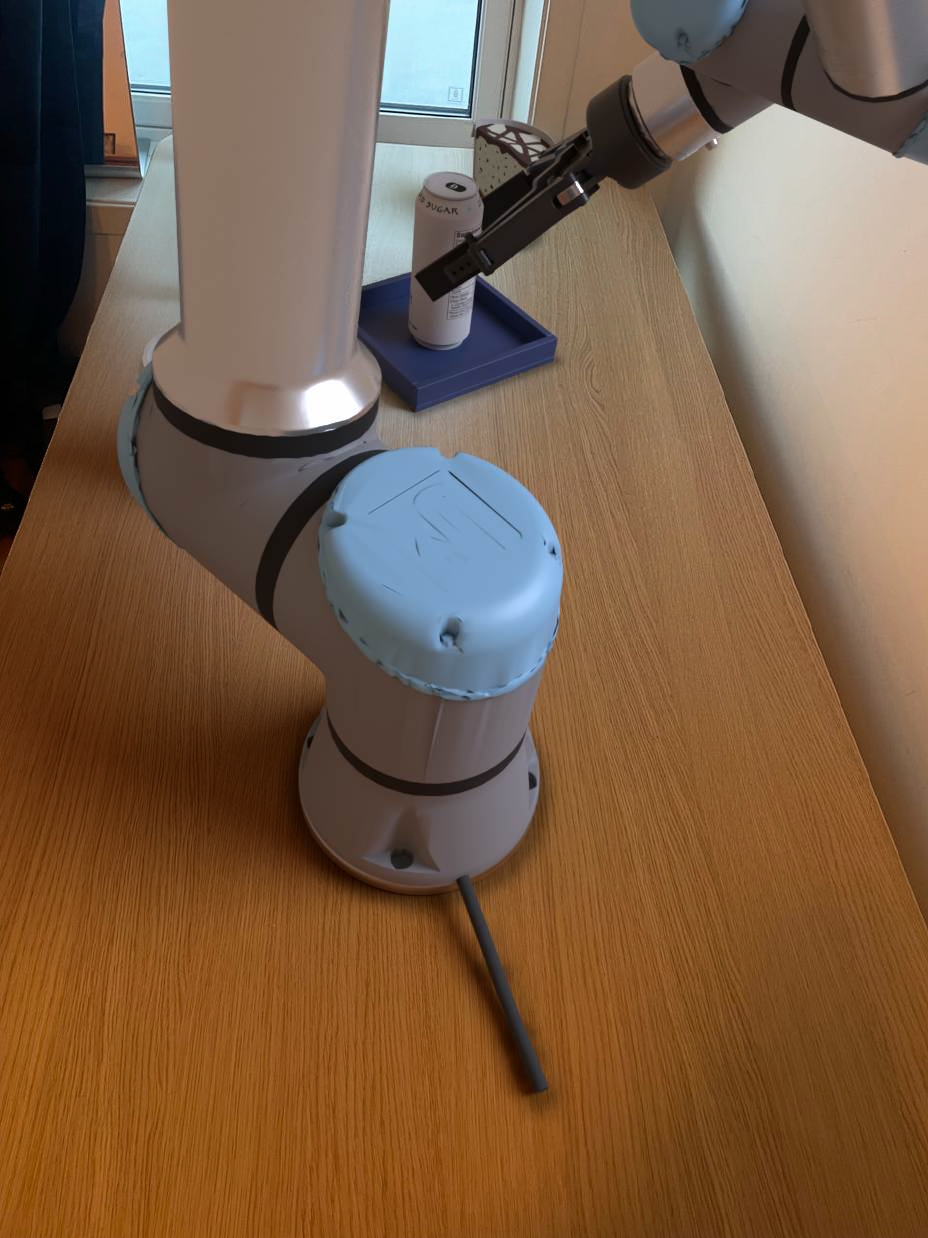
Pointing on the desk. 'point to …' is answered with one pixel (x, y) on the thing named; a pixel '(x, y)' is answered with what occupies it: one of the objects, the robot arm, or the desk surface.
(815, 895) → the desk surface
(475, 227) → the energy drink can
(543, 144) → the food container
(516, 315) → the navy tray
